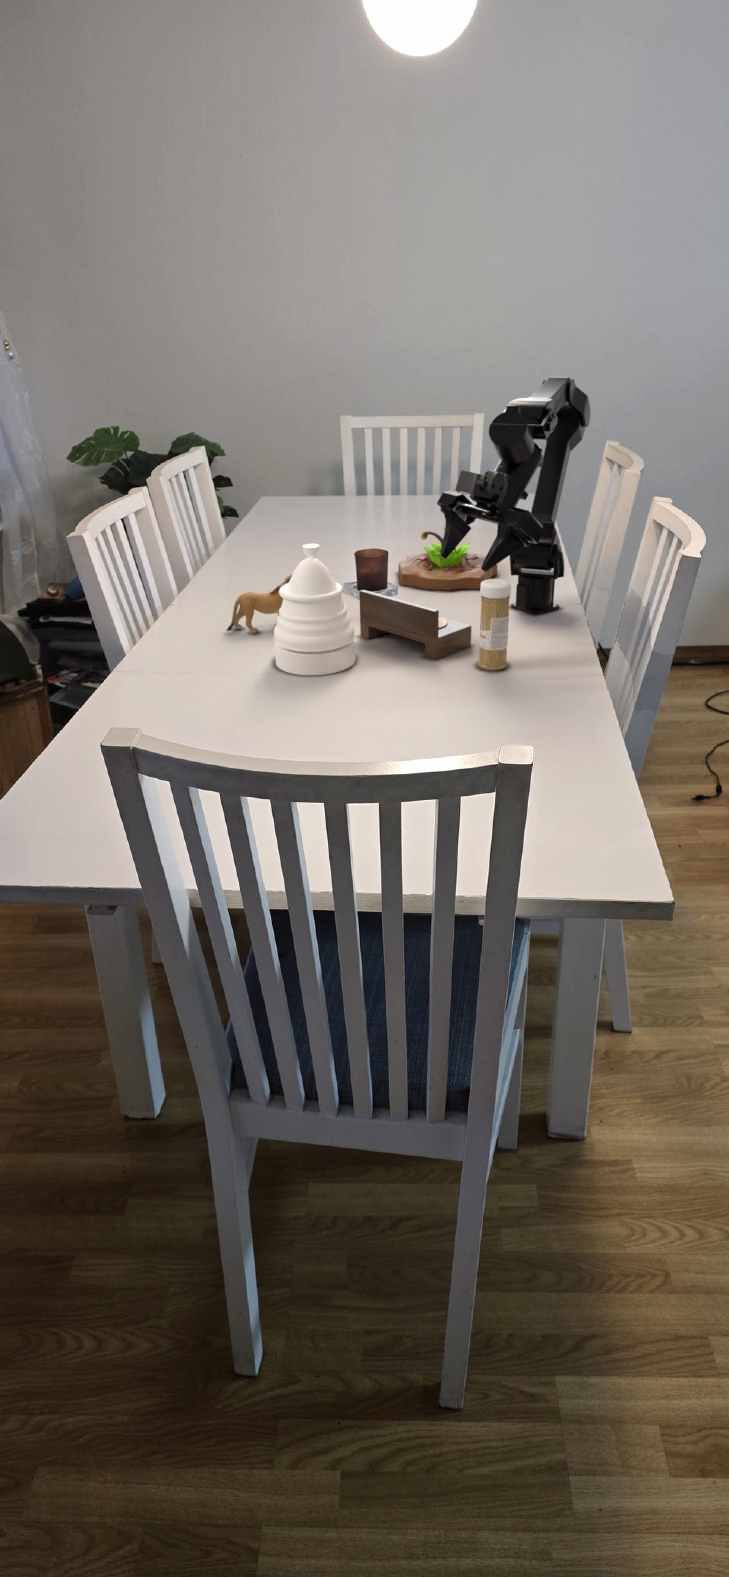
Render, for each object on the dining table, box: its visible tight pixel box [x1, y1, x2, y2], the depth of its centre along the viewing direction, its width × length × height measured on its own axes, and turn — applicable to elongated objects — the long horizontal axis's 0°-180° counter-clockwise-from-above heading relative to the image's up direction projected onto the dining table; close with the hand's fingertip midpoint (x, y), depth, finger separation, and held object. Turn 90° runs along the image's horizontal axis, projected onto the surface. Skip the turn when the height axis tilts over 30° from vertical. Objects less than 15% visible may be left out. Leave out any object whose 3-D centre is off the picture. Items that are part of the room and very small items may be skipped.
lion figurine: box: [226, 573, 293, 634], centre depth 172 cm, size 15×5×9 cm, turn 110°
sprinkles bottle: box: [477, 578, 512, 671], centre depth 152 cm, size 5×5×14 cm
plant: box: [398, 525, 498, 591], centre depth 197 cm, size 20×20×11 cm
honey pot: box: [273, 543, 357, 676], centre depth 155 cm, size 13×13×18 cm
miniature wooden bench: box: [358, 589, 472, 661], centre depth 164 cm, size 9×17×8 cm, turn 44°
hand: (462, 563), depth 156 cm, fingers open, 9 cm apart
